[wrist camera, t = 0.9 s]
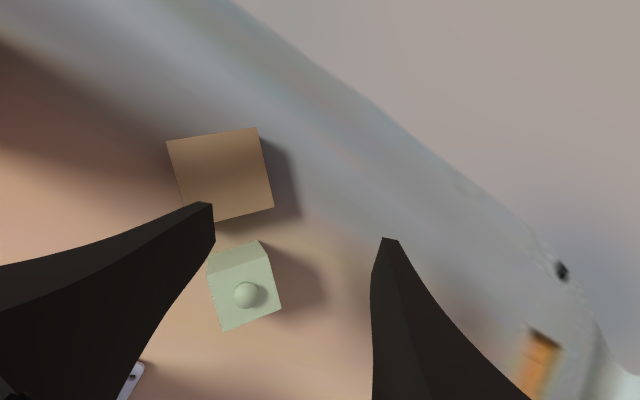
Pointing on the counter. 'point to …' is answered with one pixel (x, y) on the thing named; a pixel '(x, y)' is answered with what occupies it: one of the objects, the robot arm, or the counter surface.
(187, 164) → the walnut block
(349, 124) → the counter surface
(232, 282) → the sage brick
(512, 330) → the counter surface
